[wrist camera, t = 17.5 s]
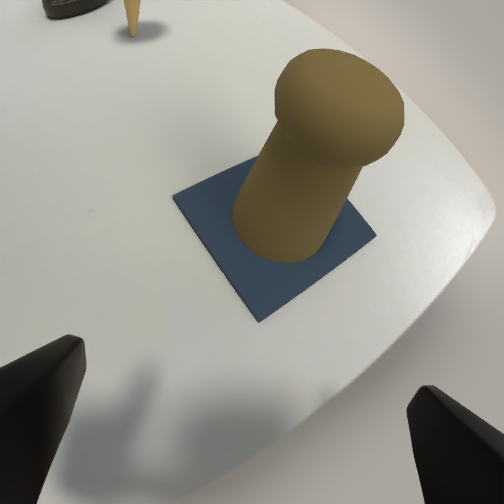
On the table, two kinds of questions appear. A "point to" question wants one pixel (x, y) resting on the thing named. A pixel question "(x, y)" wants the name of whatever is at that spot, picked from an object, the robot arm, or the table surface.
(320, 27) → the table surface
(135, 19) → the ice cream cone
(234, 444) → the table surface
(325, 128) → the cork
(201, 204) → the mat
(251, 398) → the table surface
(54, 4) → the jar
